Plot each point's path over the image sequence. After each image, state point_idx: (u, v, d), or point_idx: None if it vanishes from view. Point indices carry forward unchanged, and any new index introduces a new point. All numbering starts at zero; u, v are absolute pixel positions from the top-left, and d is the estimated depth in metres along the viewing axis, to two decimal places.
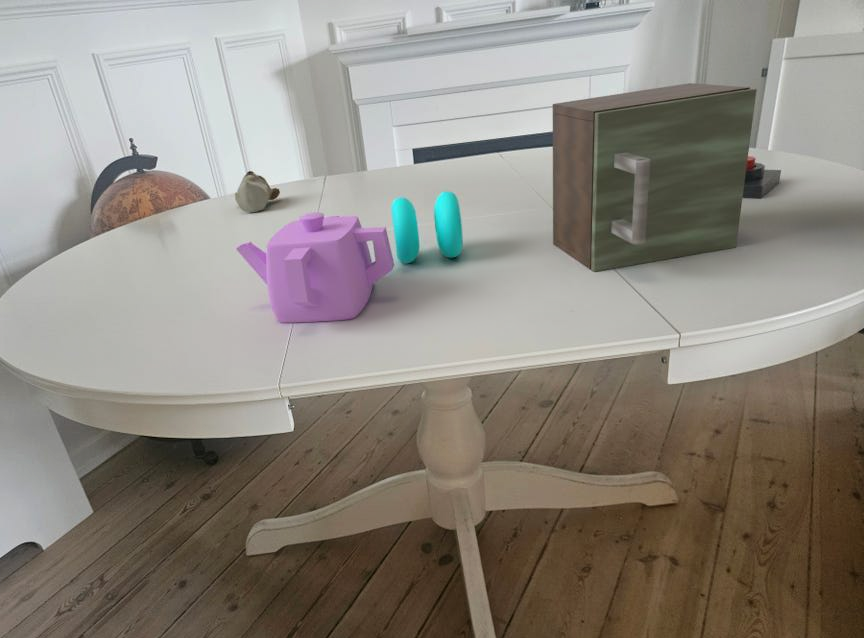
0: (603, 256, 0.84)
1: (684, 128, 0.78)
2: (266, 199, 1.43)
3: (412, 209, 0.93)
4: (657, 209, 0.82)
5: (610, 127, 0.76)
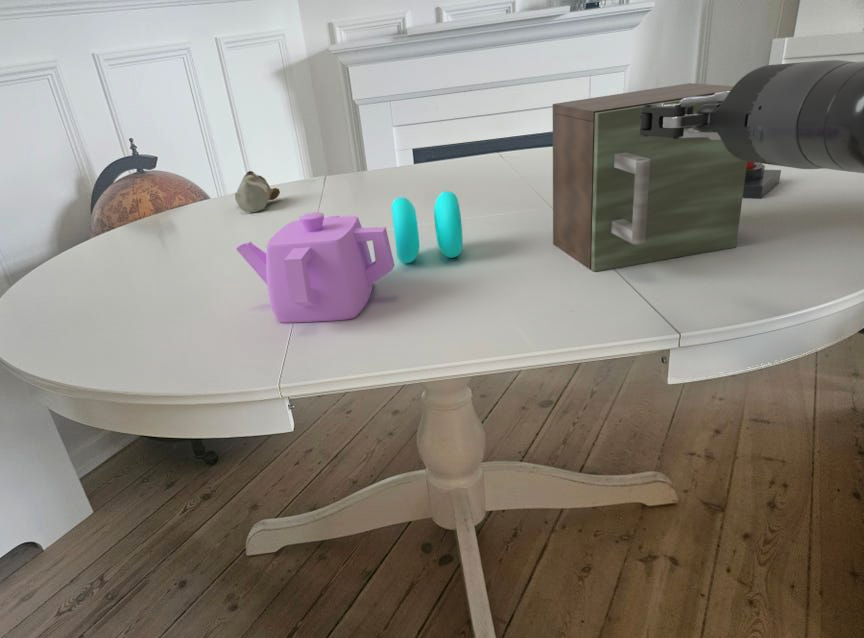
0: (603, 256, 0.84)
1: None
2: (266, 199, 1.43)
3: (412, 209, 0.93)
4: (657, 209, 0.82)
5: (610, 127, 0.76)
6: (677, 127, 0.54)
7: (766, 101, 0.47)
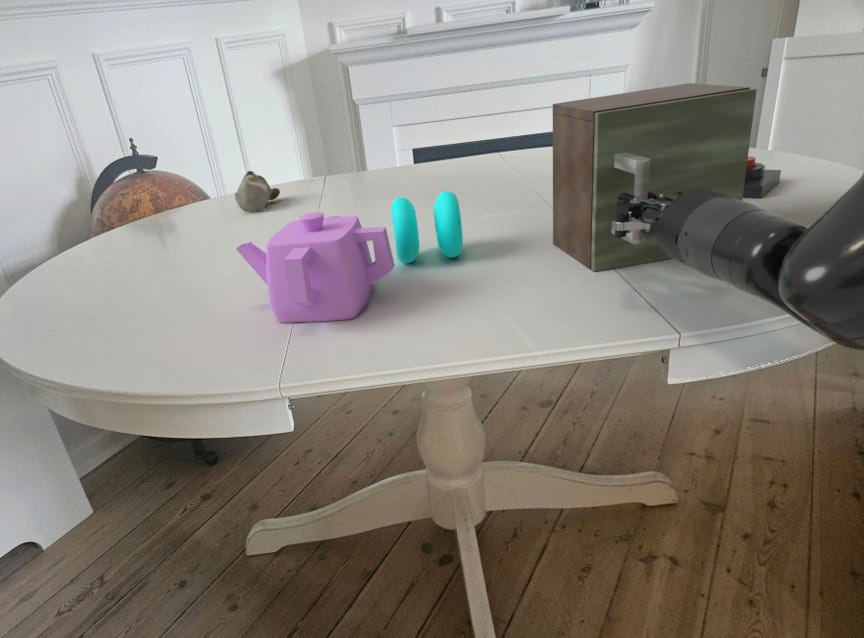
0: (603, 256, 0.84)
1: (685, 128, 0.78)
2: (266, 199, 1.43)
3: (412, 209, 0.93)
4: None
5: (610, 127, 0.76)
6: (617, 230, 0.69)
7: (690, 230, 0.61)
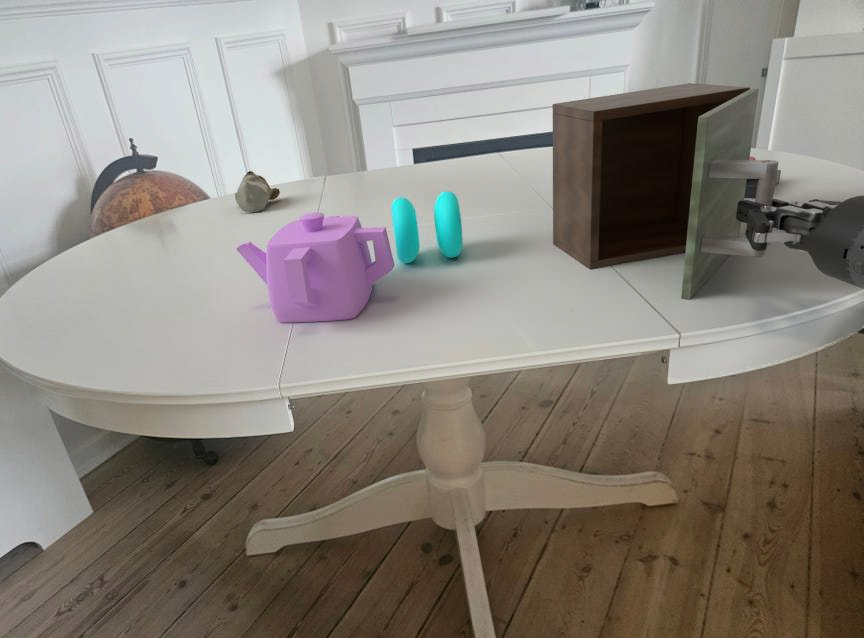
0: (695, 279, 0.73)
1: (735, 129, 0.73)
2: (266, 199, 1.43)
3: (412, 209, 0.93)
4: (718, 219, 0.75)
5: (711, 132, 0.66)
6: (758, 242, 0.60)
7: None
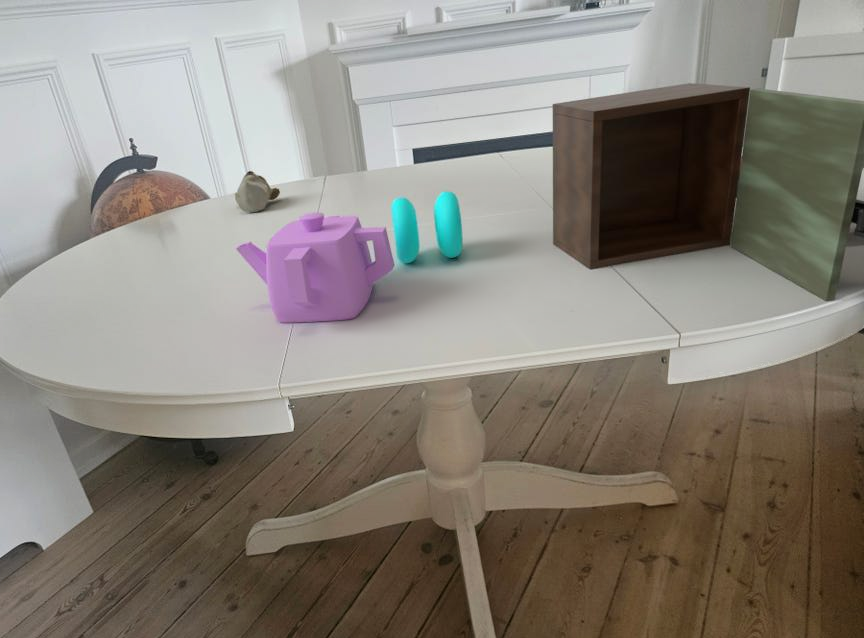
0: None
1: None
2: (266, 199, 1.43)
3: (412, 209, 0.93)
4: None
5: None
6: None
7: None
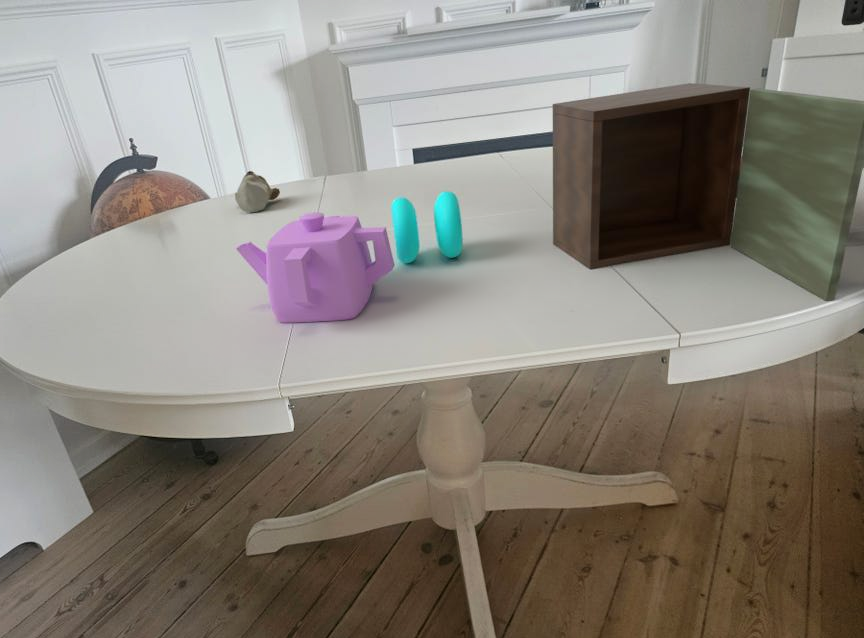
0: None
1: None
2: (266, 199, 1.43)
3: (412, 209, 0.93)
4: None
5: None
6: None
7: None
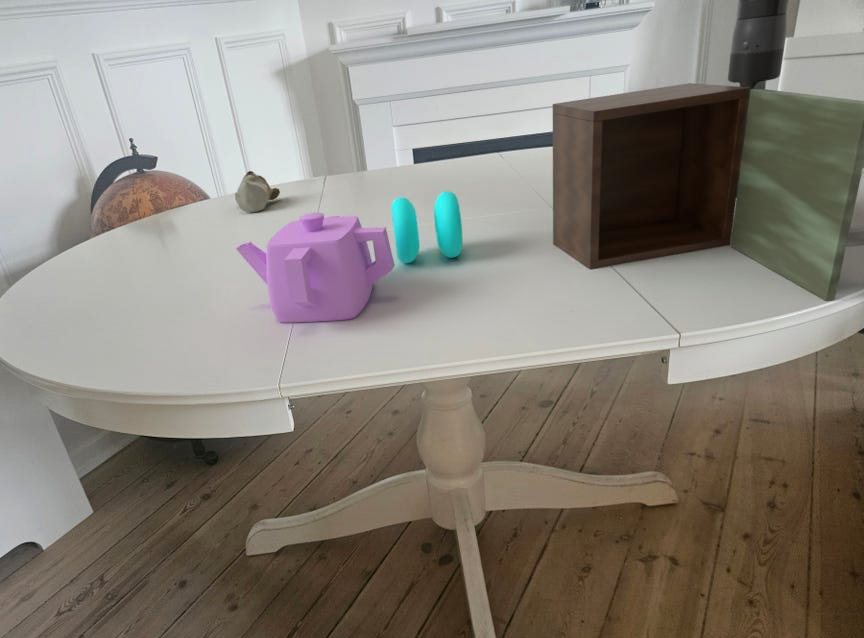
0: None
1: None
2: (266, 199, 1.43)
3: (412, 209, 0.93)
4: None
5: None
6: None
7: None
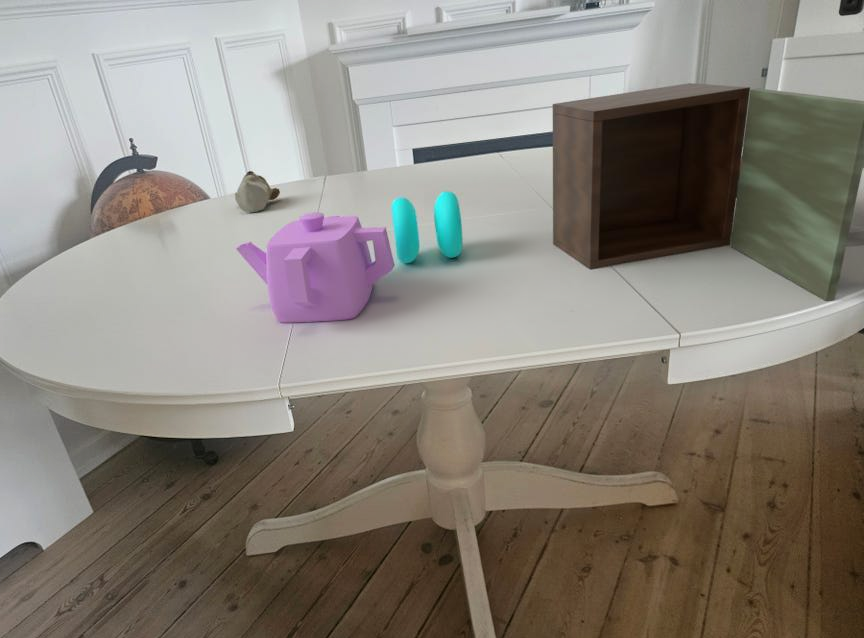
0: None
1: None
2: (266, 199, 1.43)
3: (412, 209, 0.93)
4: None
5: None
6: None
7: None
